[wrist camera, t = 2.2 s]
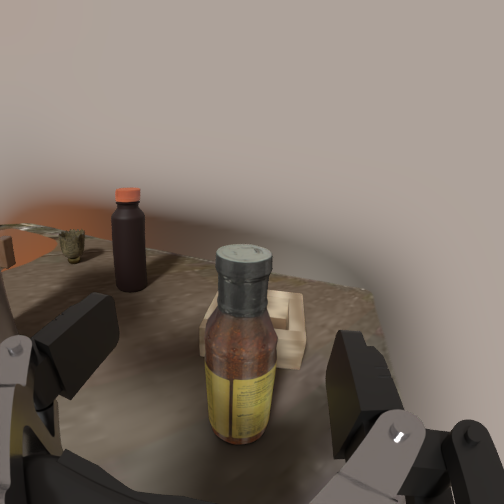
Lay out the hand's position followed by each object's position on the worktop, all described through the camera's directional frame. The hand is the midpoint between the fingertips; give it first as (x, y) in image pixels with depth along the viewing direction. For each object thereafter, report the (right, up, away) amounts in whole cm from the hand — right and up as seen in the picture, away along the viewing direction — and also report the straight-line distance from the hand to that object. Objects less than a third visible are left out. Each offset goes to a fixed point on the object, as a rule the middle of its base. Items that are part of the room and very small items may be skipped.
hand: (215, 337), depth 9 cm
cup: (-45, 0, +53) cm, 70 cm away
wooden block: (-65, -1, +45) cm, 79 cm away
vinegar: (-24, -4, +46) cm, 52 cm away
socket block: (+2, -10, +34) cm, 36 cm away
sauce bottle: (-1, -16, +17) cm, 23 cm away
